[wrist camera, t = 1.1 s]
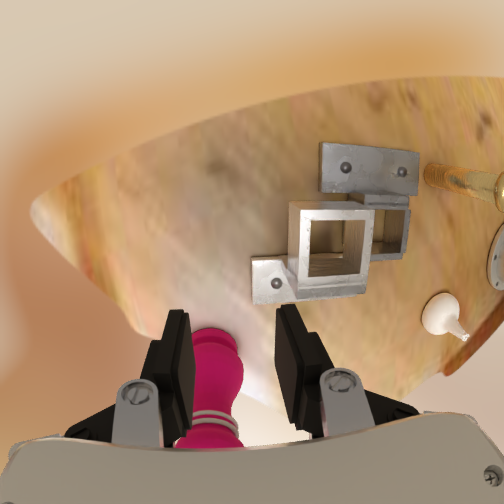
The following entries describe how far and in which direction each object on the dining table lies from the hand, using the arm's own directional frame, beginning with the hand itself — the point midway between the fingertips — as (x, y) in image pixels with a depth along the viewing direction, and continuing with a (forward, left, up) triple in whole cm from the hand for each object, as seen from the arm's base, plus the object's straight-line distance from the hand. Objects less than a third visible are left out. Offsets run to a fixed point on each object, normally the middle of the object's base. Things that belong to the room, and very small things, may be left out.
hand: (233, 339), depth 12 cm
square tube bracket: (-9, +3, -19) cm, 21 cm away
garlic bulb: (-29, +13, -20) cm, 38 cm away
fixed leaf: (-16, -3, -19) cm, 25 cm away
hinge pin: (-24, -6, -19) cm, 32 cm away
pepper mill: (+3, +15, -19) cm, 25 cm away
